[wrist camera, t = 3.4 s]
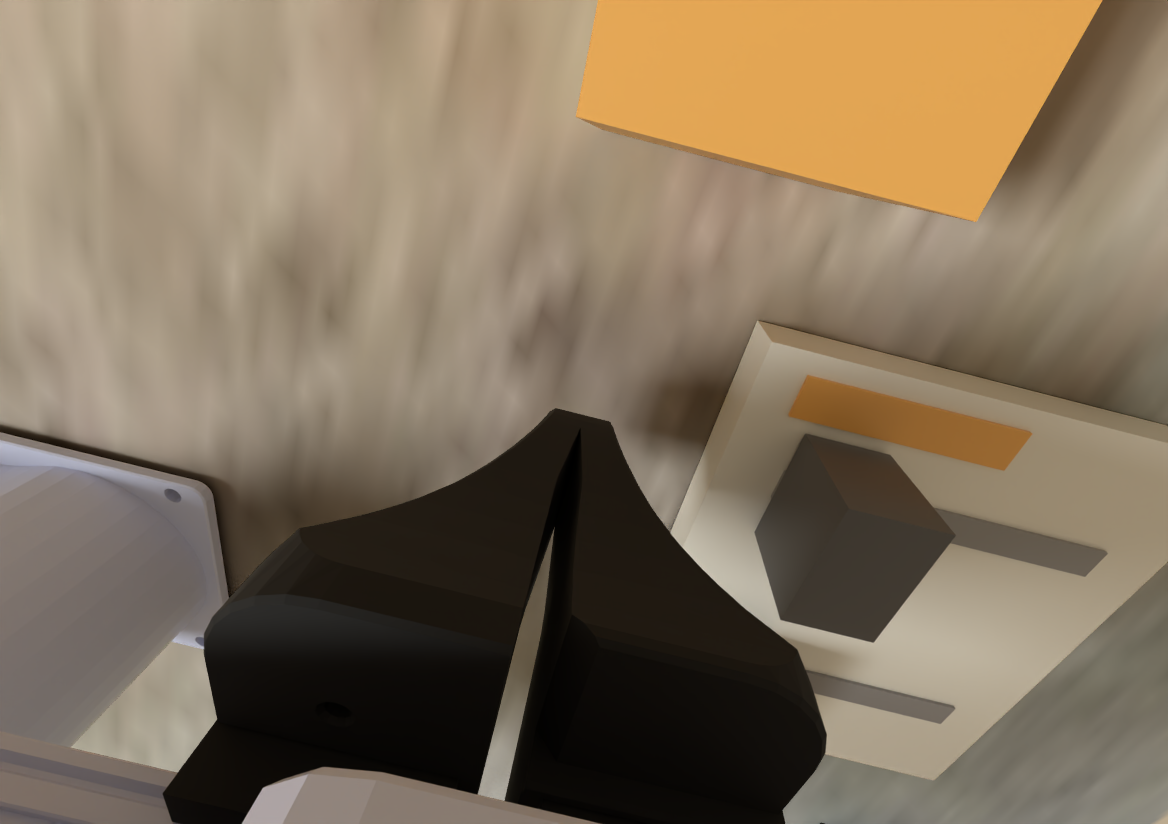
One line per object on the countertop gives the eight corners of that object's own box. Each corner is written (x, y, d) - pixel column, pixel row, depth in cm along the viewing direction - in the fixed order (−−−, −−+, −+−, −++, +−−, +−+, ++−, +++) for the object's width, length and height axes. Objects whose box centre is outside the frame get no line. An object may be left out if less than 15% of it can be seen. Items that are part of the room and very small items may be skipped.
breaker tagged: (754, 532, 13) (780, 619, 10) (805, 433, 11) (848, 508, 9) (830, 551, 13) (873, 642, 10) (890, 454, 11) (955, 535, 9)
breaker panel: (617, 663, 18) (614, 706, 17) (757, 320, 12) (773, 343, 11) (912, 734, 18) (935, 783, 17) (1199, 433, 12) (1272, 471, 11)
